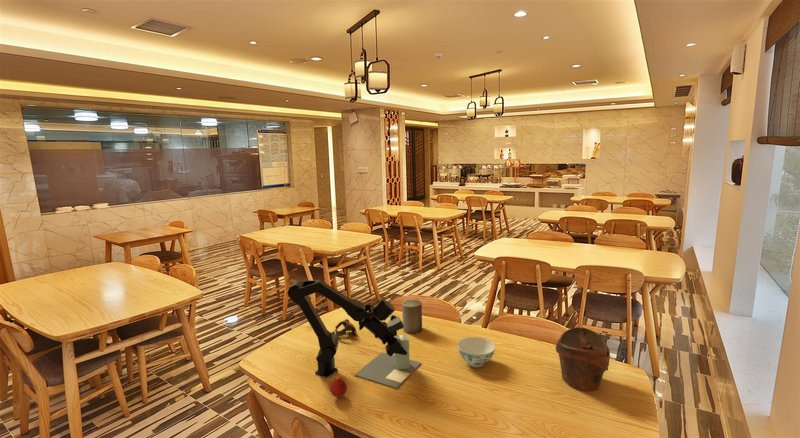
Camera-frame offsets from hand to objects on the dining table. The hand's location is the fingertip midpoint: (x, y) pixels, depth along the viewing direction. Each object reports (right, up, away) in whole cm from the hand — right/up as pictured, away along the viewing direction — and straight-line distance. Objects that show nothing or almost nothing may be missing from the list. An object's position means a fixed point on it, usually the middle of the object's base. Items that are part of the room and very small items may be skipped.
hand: (405, 350), depth 159 cm
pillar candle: (+4, -1, +36) cm, 36 cm away
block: (-1, -6, +1) cm, 7 cm away
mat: (-7, -7, -1) cm, 10 cm away
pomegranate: (-24, -11, -18) cm, 32 cm away
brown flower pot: (+65, -8, -12) cm, 67 cm away
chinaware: (+29, -6, +3) cm, 30 cm away
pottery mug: (-28, -3, +31) cm, 42 cm away
